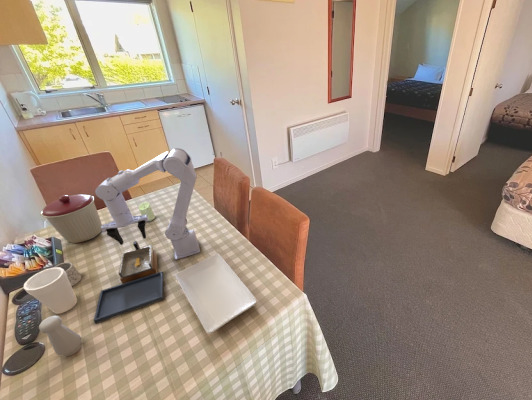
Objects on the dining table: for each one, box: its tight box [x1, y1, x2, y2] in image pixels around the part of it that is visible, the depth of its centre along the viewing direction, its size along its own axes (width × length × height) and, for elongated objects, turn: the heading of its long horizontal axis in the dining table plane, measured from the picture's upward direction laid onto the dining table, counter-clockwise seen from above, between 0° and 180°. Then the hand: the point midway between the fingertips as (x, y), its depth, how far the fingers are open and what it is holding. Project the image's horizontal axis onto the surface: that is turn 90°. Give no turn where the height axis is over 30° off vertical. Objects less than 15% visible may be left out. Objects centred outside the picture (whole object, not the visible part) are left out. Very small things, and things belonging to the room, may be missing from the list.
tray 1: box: [93, 271, 165, 324], centre depth 92 cm, size 19×13×1 cm
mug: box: [54, 261, 82, 287], centre depth 96 cm, size 10×7×7 cm, turn 134°
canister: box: [39, 194, 103, 244], centre depth 117 cm, size 18×18×21 cm
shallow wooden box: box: [119, 249, 158, 284], centre depth 102 cm, size 11×12×3 cm
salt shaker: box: [38, 315, 83, 357], centre depth 73 cm, size 6×6×13 cm
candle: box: [138, 201, 156, 222], centre depth 131 cm, size 5×5×8 cm
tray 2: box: [174, 252, 258, 335], centre depth 92 cm, size 17×31×4 cm, turn 42°
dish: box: [118, 240, 155, 278], centre depth 101 cm, size 10×14×5 cm
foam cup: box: [23, 266, 78, 315], centre depth 86 cm, size 10×9×13 cm
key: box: [135, 258, 140, 267], centre depth 101 cm, size 4×2×1 cm, turn 28°
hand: (133, 240), depth 104 cm, fingers open, 7 cm apart
